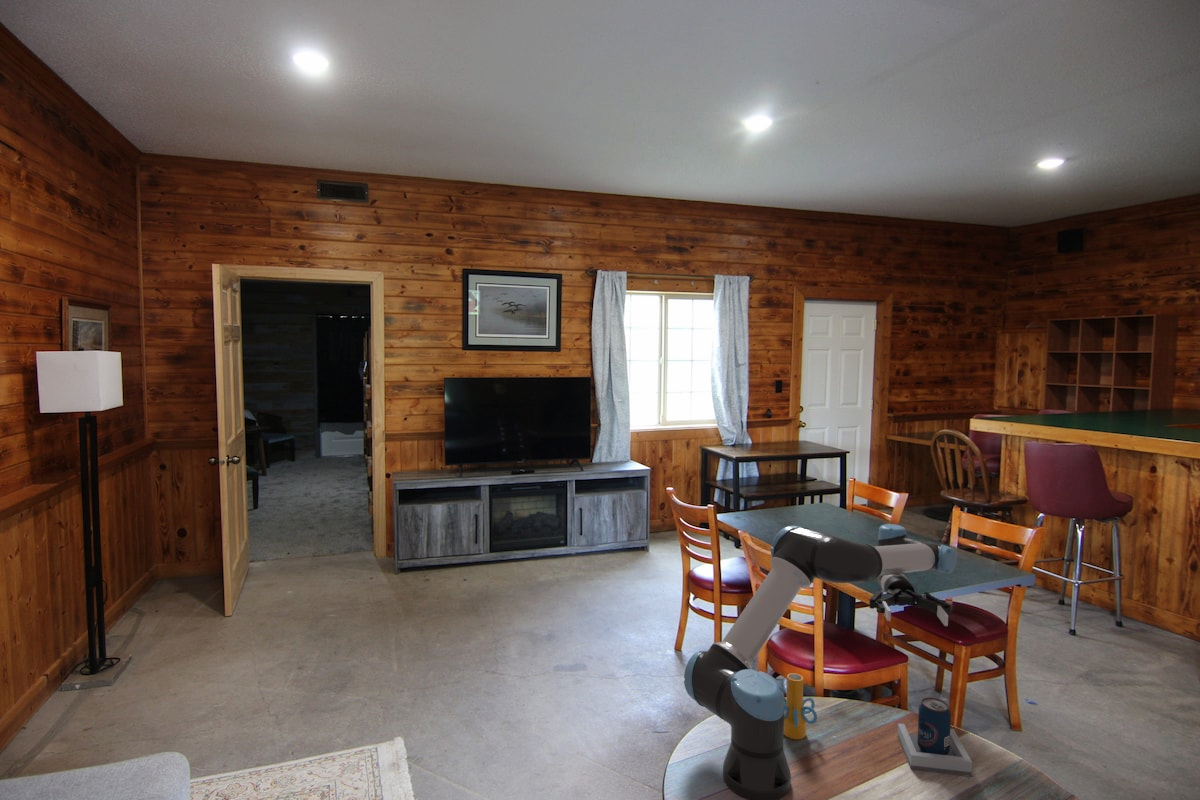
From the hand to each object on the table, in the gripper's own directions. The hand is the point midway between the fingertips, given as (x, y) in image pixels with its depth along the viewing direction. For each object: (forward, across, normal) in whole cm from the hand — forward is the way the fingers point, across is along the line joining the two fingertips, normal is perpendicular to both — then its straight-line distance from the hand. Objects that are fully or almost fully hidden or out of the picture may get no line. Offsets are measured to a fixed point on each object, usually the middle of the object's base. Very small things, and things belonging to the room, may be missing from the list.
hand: (917, 618), depth 167 cm
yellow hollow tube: (+8, +30, -30) cm, 43 cm away
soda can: (+11, -2, -28) cm, 31 cm away
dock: (+12, -2, -29) cm, 32 cm away
